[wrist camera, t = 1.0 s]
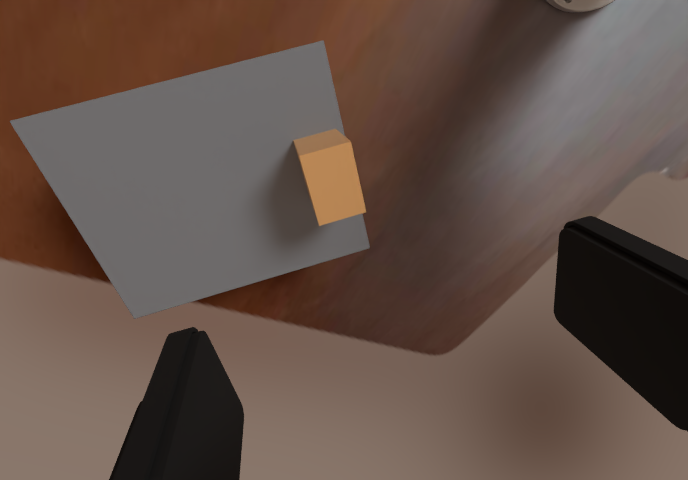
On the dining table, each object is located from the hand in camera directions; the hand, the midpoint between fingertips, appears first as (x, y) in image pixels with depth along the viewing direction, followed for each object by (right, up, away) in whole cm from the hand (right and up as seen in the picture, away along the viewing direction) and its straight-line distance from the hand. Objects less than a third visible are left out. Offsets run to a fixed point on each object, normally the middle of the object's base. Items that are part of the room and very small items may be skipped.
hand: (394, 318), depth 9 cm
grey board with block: (-10, +6, +18) cm, 21 cm away
